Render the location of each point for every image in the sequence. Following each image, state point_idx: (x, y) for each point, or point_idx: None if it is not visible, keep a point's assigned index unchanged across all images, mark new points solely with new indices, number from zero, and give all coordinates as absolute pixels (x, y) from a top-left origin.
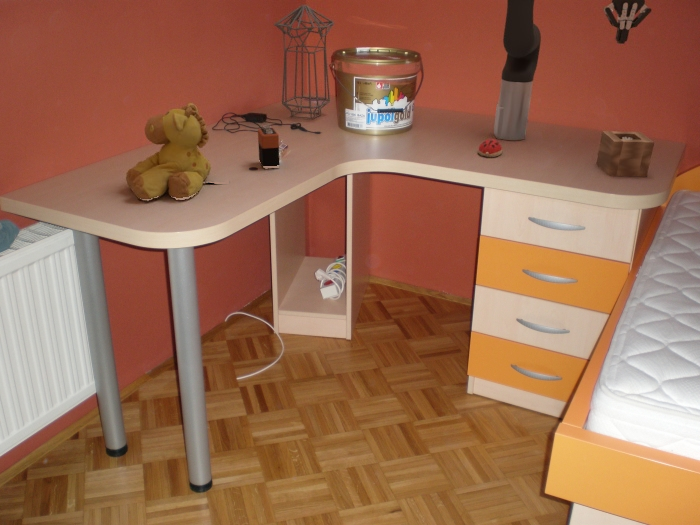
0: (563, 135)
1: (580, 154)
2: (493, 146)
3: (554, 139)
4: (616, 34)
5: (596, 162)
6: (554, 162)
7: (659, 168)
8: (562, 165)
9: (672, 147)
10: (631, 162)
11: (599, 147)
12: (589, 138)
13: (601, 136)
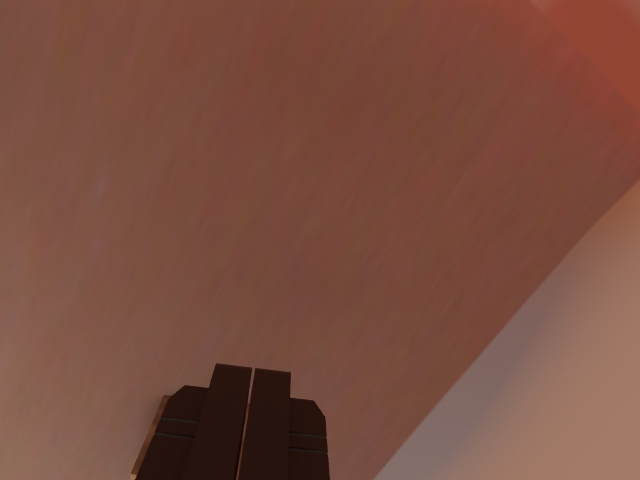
0: (171, 4)
1: (146, 293)
2: None
3: (104, 74)
4: (150, 448)
5: (163, 398)
6: (16, 378)
7: (358, 446)
8: (37, 408)
9: (565, 221)
10: None
11: (148, 432)
12: (277, 65)
13: (136, 460)
